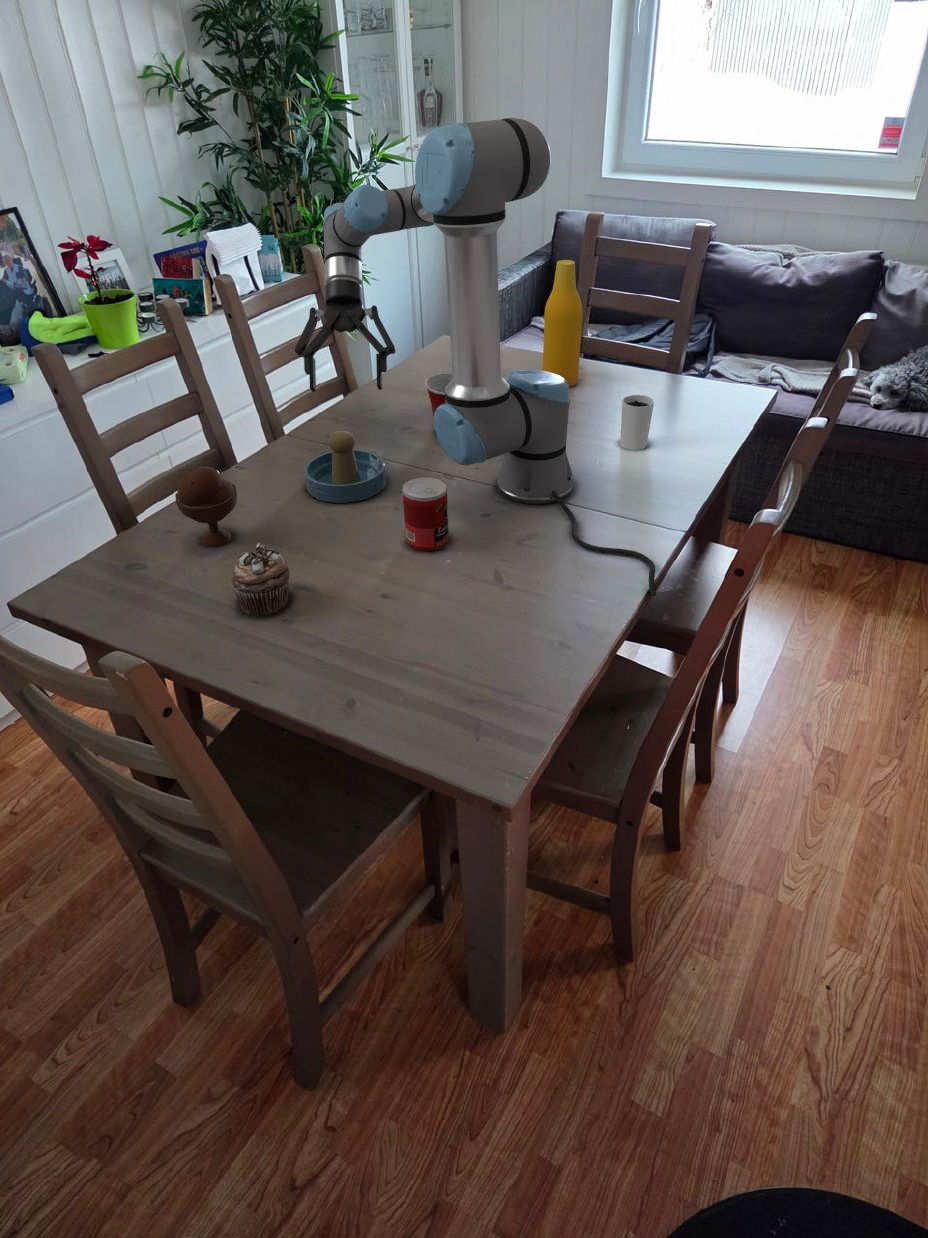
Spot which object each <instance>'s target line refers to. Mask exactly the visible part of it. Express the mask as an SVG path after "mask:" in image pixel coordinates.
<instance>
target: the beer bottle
mask: <svg viewBox="0 0 928 1238" xmlns="http://www.w3.org/2000/svg"><path fill="white" fill-rule="evenodd" d="M543 320H544V321H543V326H544V327H543V347H542V348H543V349H542V368H541V369H542V370H541V371H547V372H551V373H554V374H556V375H559V376H561V377H562V378H564V379H565V380H566V381H567V383H568V385H569V388H571V387H573V386H575V385H576V384H577V383H578V381H579V376H580V375H579V374H580V371H579V370H580V354H581V342H582V341H581V338H582V325H583V324H582V321H583V304H582V301H581V298H580V295H579V293H578V290H577V279H576V262H575V261H574V260H571V259H562V260H558V261H556V267H555V272H554V280H553V286H552V290H551V292H550V295H549V297H548V298H547V301H546V303H545V307H544V319H543Z"/></svg>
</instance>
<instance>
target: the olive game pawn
mask: <svg viewBox="0 0 928 1238" xmlns="http://www.w3.org/2000/svg"><path fill="white" fill-rule="evenodd" d="M355 444H356V439H355V436H354V434H353V433H352V432H350V431H348V430H338V431H334V432H332V433H331V434H330V435H329V437H328V446H329V448H330V450H331V452H332V484H335V485H343V484H353V483H357V482H361V479H360V475H359V471H358V467H357V463H356V459H355V455H354V451H353V449H354V448H355V446H356V445H355Z"/></svg>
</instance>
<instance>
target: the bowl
mask: <svg viewBox="0 0 928 1238" xmlns="http://www.w3.org/2000/svg"><path fill="white" fill-rule="evenodd" d="M353 451H354V455H355V459H356V463H357V467H358V471H359V475H360V479H361V482H357V483H353V484H343V485H335V484H332V451H328V452H324V453H322V454H319V455H317V456H315V457H313V458H312V459H310V460H309V461H308V462H307V463H306V464H305V466H304V468H303V471H304V479H305V480H304V481H305V487H306V491H307V492H308V493H309V495H310V496H311V497H313V498H316V499H317V500H319V501H323V502H326V503H327V502H328V503H337V504H346V503H355V502H359V501H363V500H367V499H370V498H372V497H374V496H376V495H378V494H379V493H380V492H381V491H382V490H384V488H385V487H386V485H387V472H386V471H387V470H386V463H385V460H384V459H383V458H382V457H381V456H380V455H379V454H376V453H375V452H372V451H369V450H364V449H356V448H355V449H354V448H353Z"/></svg>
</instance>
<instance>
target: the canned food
mask: <svg viewBox="0 0 928 1238" xmlns="http://www.w3.org/2000/svg"><path fill="white" fill-rule="evenodd" d="M447 486H448V485H447V484H446V483H445V482H444V481H442V480H440V479H438V478H433V477H418V478H413V479H410V480H408V481H407V482H405V483H404V484H403V485H402V506H403V519H404V531H405V540H406V543H407V544H408V545H409V546H410V547H411V548H413V549H415V550H418V551H421V552H422V551H423V552H430V551H436V550H440V549H442V548H444V547H445V546H446V545H447V544H448V540H449V538H450V537H449V536H450V535H449V503H448V501H449V500H448V499H449V498H448V487H447Z"/></svg>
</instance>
